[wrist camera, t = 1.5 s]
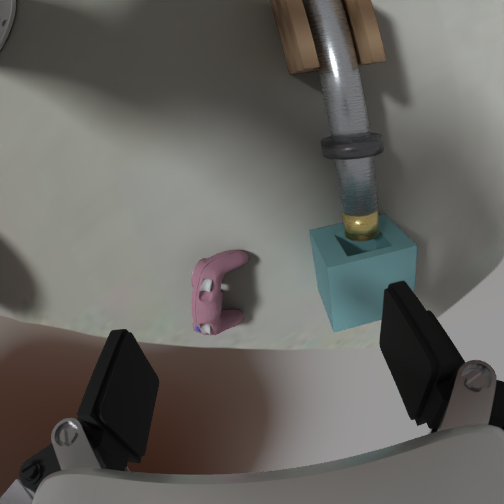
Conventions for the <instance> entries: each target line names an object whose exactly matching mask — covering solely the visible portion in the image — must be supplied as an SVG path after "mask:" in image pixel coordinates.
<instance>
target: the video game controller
mask: <svg viewBox="0 0 504 504" xmlns="http://www.w3.org/2000/svg"><path fill="white" fill-rule="evenodd" d="M248 260H249V255H248V254H247V253H246V252H245V251H242V250H229V251H224V252H221V253H218V254H216V255H214V256H212V257H210V258H207V259H206V258H203V259H201V260H200V261H199V262H198V263H197V264H196V266H195V268H194V269H193V271H192V287H193V294H192V316H193V329H194V331H196V332H199V333H202V334H204V335H216V334H219V333H220V332H222V331H224V330H226V329H229V328H231V327H234V326H236V325H238V324H240V323H241V322H242V321H243V319H244V314H243V313H242V312H241V311H240V310H236V309H230V310H223V311H221V309H222V300H223V293H222V292H220V288H221V283H222V280H223V276H224V274H226V273H227V272H229V271H231V270H233V269H235V268H238V267H240V266H242V265H244V264H245V263H246V262H247V261H248Z"/></svg>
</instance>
